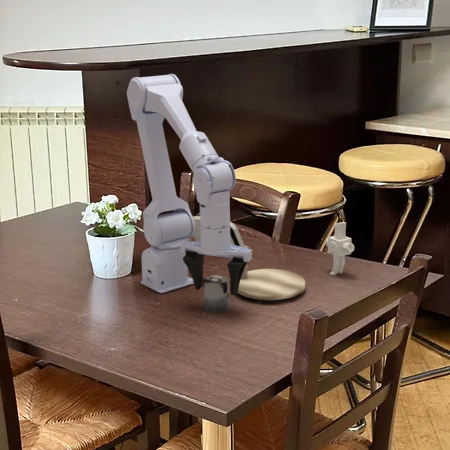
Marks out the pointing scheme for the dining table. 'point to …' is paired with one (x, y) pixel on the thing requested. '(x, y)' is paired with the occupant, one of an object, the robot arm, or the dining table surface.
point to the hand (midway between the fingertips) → (216, 290)
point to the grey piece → (234, 234)
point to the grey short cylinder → (216, 294)
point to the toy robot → (339, 247)
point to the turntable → (270, 284)
